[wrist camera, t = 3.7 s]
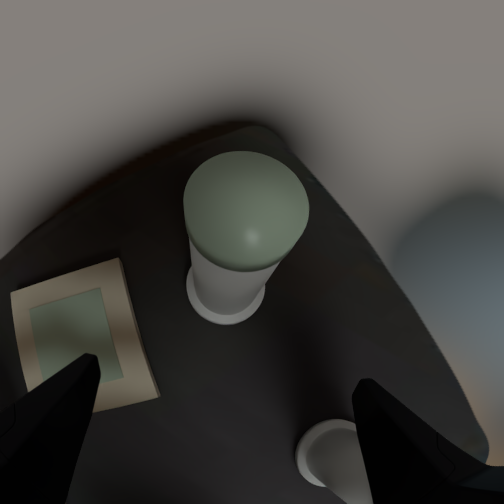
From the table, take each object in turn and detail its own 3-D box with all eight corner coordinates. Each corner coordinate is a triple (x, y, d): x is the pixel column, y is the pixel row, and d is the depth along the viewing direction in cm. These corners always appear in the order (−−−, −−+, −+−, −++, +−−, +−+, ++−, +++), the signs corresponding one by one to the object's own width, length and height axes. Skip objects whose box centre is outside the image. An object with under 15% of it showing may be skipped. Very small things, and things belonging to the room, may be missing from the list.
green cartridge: (273, 310, 23) (344, 245, 12) (201, 335, 22) (195, 294, 10) (247, 243, 25) (284, 134, 13) (178, 264, 24) (157, 159, 12)
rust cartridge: (369, 460, 19) (478, 497, 7) (308, 493, 18) (392, 568, 6) (349, 406, 21) (467, 419, 9) (284, 438, 20) (367, 498, 8)
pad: (160, 395, 20) (157, 397, 18) (44, 419, 17) (36, 421, 15) (122, 262, 23) (117, 257, 22) (17, 296, 20) (9, 292, 19)
